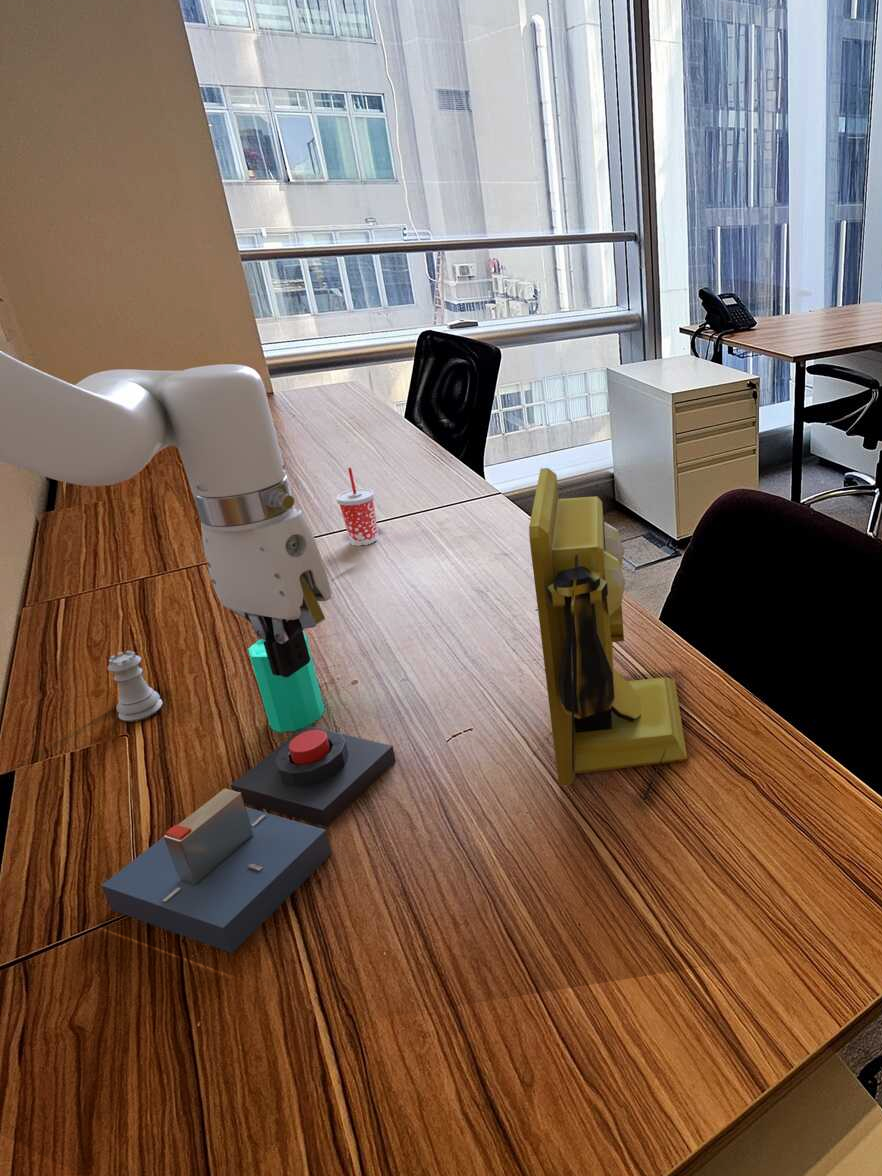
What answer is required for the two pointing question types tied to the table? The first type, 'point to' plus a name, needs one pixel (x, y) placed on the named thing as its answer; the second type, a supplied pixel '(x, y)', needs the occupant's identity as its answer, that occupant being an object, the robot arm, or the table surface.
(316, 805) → the button block
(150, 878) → the control panel
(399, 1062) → the table surface
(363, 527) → the beverage cup
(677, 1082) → the table surface
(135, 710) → the rook chess piece
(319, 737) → the button
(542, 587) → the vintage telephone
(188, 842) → the handle
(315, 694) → the candle
